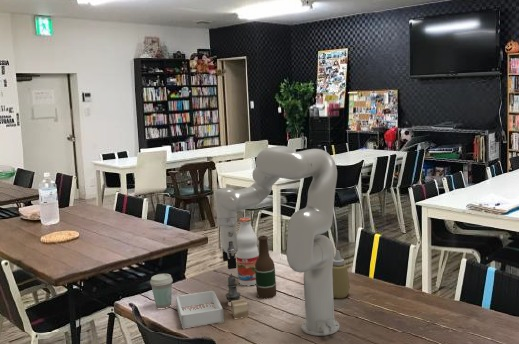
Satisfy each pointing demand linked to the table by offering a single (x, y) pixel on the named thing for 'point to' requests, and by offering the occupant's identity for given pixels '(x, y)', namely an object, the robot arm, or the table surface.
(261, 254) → the beer bottle
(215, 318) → the tote
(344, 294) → the squeeze bottle
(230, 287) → the chess piece
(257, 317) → the table surface
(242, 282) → the fruit juice
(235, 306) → the beech cube
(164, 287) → the coffee cup
